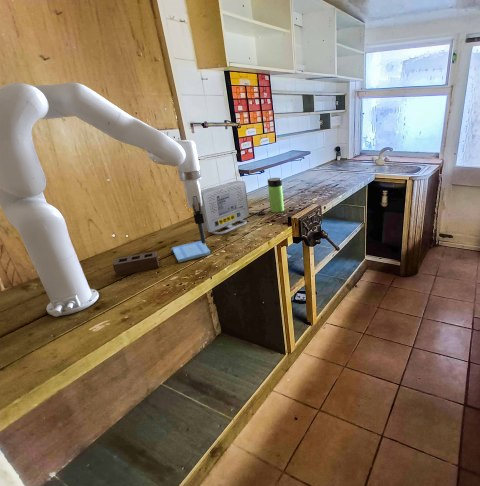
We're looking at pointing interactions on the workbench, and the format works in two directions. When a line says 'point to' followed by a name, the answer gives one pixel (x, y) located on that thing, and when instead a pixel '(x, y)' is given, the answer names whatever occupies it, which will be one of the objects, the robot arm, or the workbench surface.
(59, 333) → the workbench surface
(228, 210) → the network device
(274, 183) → the tumbler
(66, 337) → the workbench surface
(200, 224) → the stylus
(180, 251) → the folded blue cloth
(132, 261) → the pen stand
